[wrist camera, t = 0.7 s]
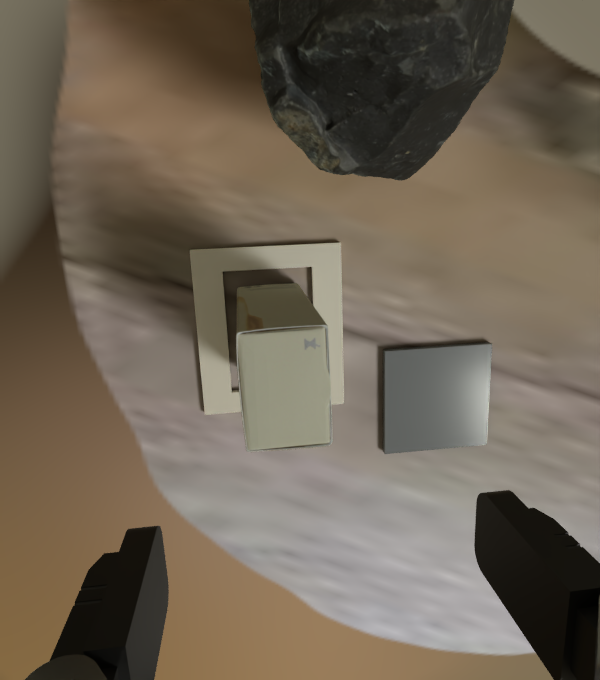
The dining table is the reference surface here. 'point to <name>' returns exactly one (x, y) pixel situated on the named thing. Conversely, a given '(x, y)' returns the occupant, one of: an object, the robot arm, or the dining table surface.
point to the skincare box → (282, 369)
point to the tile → (436, 397)
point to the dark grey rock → (375, 75)
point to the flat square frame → (213, 313)
